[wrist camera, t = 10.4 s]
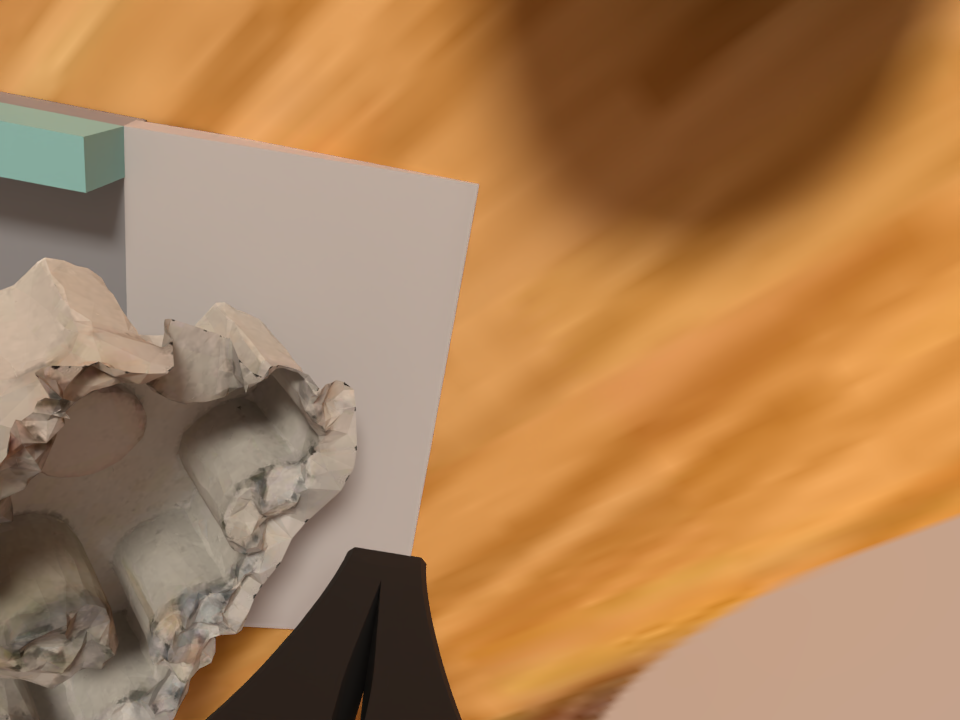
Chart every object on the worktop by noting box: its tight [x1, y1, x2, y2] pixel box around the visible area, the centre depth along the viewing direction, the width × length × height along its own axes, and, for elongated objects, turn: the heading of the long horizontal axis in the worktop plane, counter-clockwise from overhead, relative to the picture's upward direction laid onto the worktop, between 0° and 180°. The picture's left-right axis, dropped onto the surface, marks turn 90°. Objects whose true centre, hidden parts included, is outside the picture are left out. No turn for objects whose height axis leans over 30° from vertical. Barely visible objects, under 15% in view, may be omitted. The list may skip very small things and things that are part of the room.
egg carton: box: [0, 258, 357, 720], centre depth 14 cm, size 11×8×4 cm
